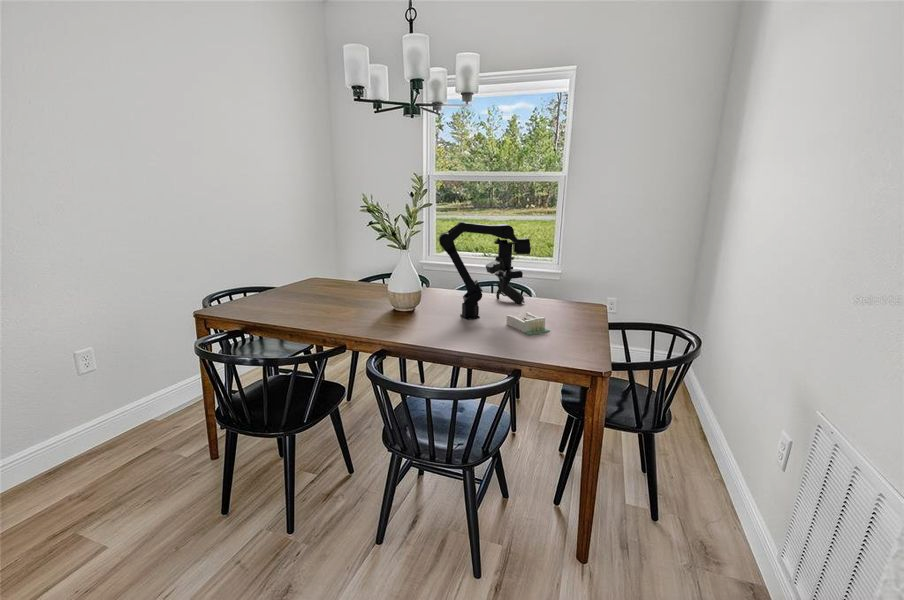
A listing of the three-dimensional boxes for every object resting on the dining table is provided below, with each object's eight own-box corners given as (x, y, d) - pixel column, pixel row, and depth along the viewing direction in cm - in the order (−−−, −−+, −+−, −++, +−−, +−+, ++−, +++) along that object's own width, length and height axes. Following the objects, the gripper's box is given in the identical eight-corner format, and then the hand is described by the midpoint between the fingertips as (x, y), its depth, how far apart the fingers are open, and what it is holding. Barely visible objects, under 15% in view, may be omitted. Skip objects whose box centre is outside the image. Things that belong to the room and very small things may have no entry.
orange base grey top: (528, 331, 167) (529, 320, 166) (520, 327, 171) (521, 317, 170) (537, 329, 169) (538, 319, 168) (529, 326, 173) (530, 315, 172)
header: (528, 335, 162) (528, 323, 161) (505, 324, 175) (506, 312, 173) (551, 331, 167) (552, 318, 166) (527, 320, 180) (528, 308, 179)
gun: (515, 314, 206) (525, 298, 201) (491, 295, 212) (499, 279, 207) (518, 313, 208) (528, 297, 203) (494, 294, 214) (502, 278, 209)
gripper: (477, 252, 182) (476, 287, 186) (501, 259, 166) (499, 297, 170) (498, 250, 187) (497, 284, 191) (524, 257, 171) (522, 294, 175)
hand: (503, 290), depth 182 cm, fingers closed
